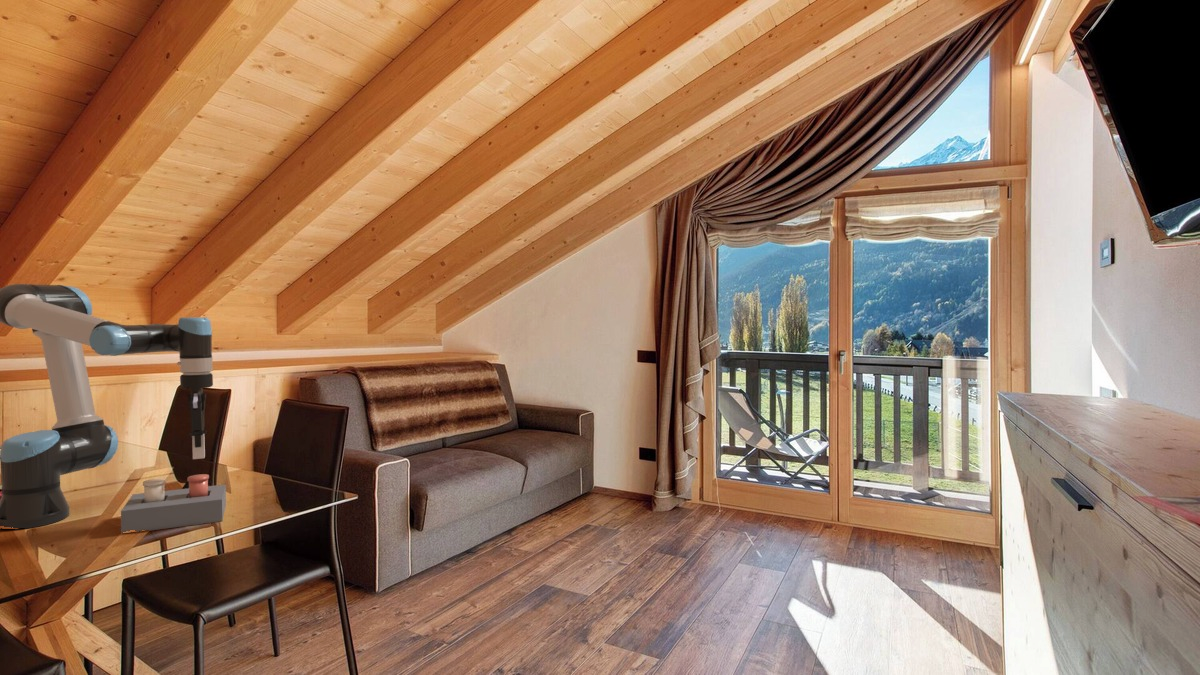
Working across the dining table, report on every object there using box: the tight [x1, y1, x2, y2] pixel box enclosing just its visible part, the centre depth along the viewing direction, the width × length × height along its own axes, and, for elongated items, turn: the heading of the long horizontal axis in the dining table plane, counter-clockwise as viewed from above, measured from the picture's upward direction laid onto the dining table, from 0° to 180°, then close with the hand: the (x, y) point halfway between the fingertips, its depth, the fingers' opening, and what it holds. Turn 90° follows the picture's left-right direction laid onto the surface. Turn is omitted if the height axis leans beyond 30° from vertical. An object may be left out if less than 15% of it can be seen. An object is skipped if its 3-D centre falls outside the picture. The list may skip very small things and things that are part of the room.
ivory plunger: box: [142, 478, 167, 503], centre depth 167 cm, size 5×5×7 cm
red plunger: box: [187, 473, 210, 498], centre depth 172 cm, size 5×5×7 cm
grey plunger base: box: [120, 484, 227, 533], centre depth 170 cm, size 16×22×6 cm
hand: (198, 458), depth 171 cm, fingers closed
